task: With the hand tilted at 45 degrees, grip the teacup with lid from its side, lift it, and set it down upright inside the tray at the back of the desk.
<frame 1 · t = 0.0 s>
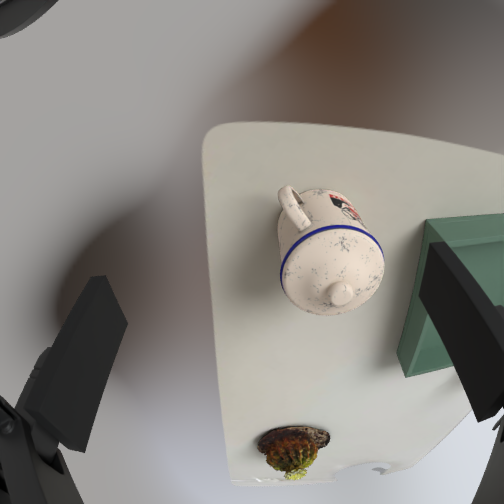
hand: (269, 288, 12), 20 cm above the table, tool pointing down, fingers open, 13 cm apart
teacup with lid: (310, 214, 34), on the table
tray: (477, 285, 39), on the table
cactus: (293, 439, 62), on the table
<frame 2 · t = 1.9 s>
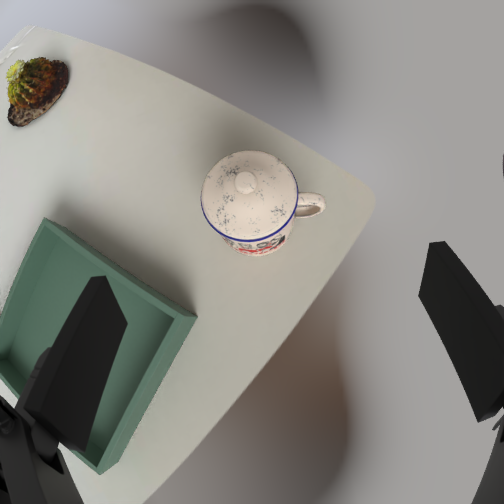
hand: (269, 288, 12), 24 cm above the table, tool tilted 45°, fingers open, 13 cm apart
teacup with lid: (269, 221, 38), on the table
tray: (82, 344, 37), on the table
cactus: (38, 95, 48), on the table
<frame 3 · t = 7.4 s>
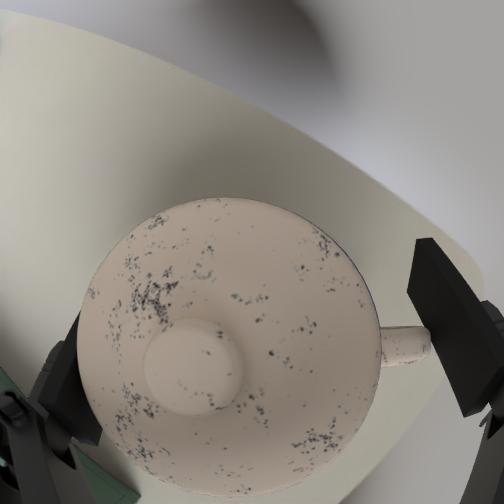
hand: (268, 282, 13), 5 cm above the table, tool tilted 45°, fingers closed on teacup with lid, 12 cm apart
teacup with lid: (276, 339, 17), on the table, touching gripper
when the fingers open (6 cm above the table, at t = 17.1 s): teacup with lid stays where it is, resting on tray.
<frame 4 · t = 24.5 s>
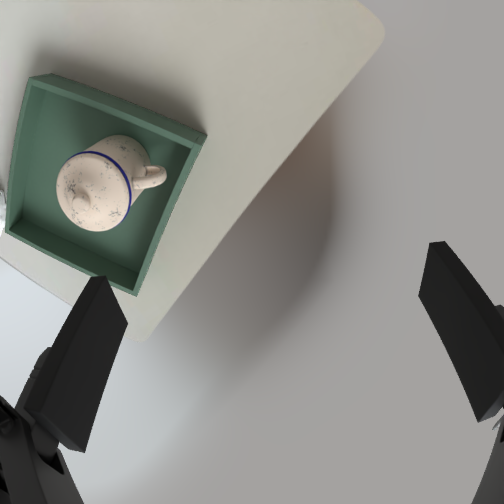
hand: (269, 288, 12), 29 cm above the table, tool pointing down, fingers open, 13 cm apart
teacup with lid: (131, 165, 38), point 1 cm above the table, touching tray
tray: (94, 179, 40), on the table
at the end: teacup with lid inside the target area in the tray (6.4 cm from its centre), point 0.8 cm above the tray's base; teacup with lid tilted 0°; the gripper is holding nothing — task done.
